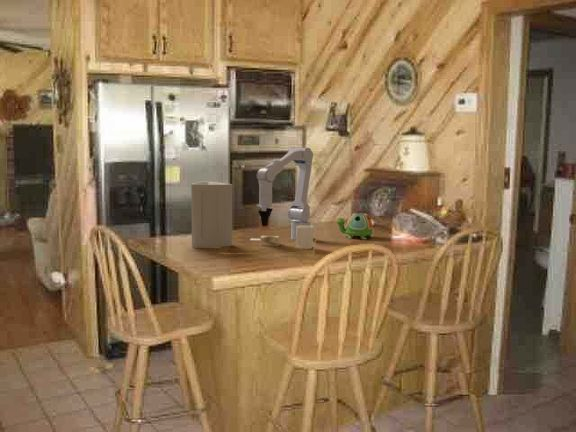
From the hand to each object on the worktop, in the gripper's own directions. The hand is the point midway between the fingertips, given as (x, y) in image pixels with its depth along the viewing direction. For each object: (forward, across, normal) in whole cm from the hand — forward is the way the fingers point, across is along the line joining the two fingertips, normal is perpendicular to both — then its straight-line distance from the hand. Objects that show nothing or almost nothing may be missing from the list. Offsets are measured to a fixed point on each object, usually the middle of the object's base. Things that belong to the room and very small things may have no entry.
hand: (265, 225), depth 269 cm
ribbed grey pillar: (+10, +3, -26) cm, 28 cm away
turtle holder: (+10, -29, +42) cm, 52 cm away
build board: (+9, -6, 0) cm, 11 cm away
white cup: (+10, +5, +18) cm, 21 cm away
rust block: (+1, 0, 0) cm, 1 cm away
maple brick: (+9, 0, +2) cm, 9 cm away
